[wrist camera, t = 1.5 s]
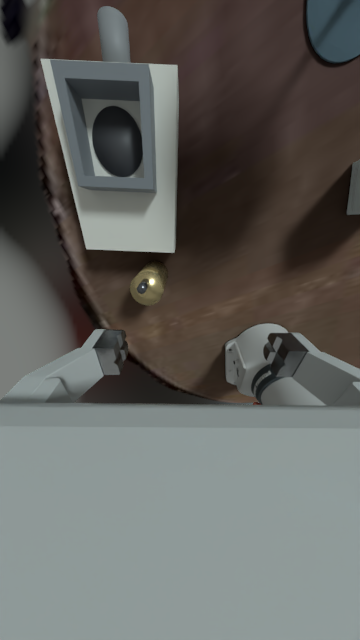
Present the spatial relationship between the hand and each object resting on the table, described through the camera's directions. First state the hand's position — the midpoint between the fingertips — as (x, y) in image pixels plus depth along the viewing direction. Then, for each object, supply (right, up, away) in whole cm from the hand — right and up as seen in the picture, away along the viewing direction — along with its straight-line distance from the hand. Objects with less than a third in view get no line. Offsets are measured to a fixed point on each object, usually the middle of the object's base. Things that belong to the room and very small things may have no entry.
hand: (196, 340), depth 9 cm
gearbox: (-8, +25, +16) cm, 31 cm away
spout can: (-6, +11, +24) cm, 27 cm away
